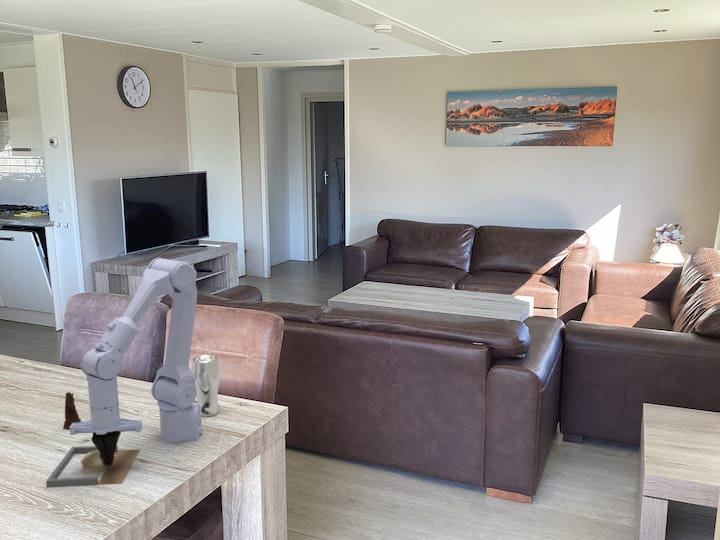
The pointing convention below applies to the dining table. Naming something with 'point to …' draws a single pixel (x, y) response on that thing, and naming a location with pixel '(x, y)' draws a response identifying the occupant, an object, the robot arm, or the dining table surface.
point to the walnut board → (119, 467)
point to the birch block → (93, 461)
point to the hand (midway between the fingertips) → (109, 462)
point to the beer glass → (207, 383)
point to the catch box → (53, 480)
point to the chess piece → (70, 412)
